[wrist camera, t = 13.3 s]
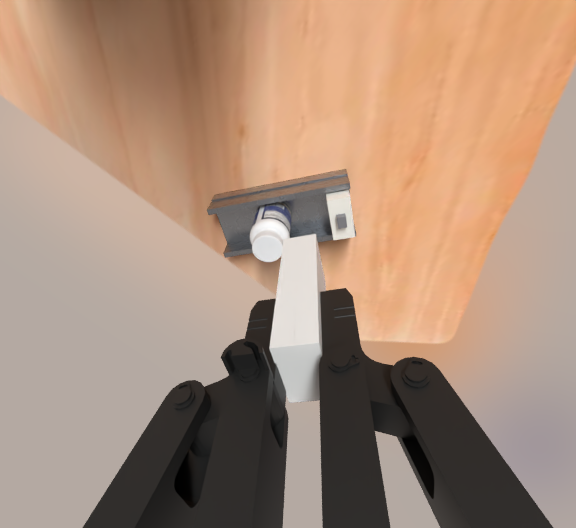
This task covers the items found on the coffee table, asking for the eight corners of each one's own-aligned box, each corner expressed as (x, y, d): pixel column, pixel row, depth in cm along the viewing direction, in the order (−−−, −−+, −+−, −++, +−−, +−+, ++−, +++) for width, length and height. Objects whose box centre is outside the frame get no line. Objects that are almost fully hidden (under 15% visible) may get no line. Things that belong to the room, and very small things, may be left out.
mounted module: (325, 186, 47) (327, 203, 42) (346, 182, 47) (350, 199, 42) (331, 223, 51) (333, 244, 46) (351, 220, 50) (356, 240, 45)
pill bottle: (270, 237, 52) (263, 273, 44) (248, 211, 50) (237, 244, 42) (298, 219, 50) (296, 254, 42) (277, 192, 48) (271, 223, 40)
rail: (214, 194, 51) (206, 208, 47) (345, 169, 48) (349, 181, 44) (231, 242, 56) (225, 258, 52) (352, 221, 52) (356, 237, 48)
